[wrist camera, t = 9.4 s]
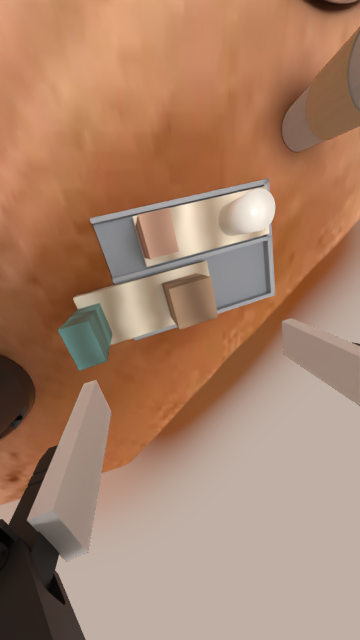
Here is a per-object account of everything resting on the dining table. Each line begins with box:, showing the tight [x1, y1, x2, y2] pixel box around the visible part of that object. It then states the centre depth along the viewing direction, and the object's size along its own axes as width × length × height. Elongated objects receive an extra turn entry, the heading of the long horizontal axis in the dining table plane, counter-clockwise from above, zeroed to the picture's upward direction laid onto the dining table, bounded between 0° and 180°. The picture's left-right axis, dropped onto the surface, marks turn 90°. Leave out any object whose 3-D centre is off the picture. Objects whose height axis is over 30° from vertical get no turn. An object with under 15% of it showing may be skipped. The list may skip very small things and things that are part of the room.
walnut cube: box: [162, 273, 218, 330], centre depth 27 cm, size 6×6×6 cm
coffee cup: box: [282, 27, 360, 152], centre depth 22 cm, size 9×9×15 cm
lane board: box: [90, 179, 275, 341], centre depth 30 cm, size 26×18×2 cm
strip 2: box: [58, 260, 210, 371], centre depth 26 cm, size 20×8×10 cm, turn 104°
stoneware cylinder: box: [219, 188, 275, 236], centre depth 25 cm, size 4×4×6 cm
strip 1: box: [132, 186, 269, 267], centre depth 24 cm, size 20×6×10 cm, turn 104°
